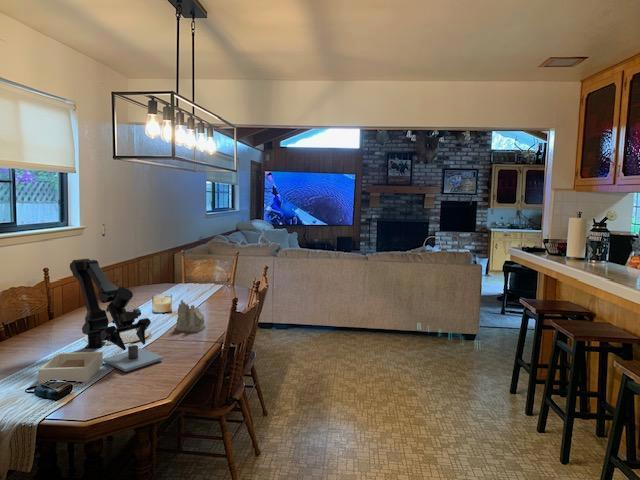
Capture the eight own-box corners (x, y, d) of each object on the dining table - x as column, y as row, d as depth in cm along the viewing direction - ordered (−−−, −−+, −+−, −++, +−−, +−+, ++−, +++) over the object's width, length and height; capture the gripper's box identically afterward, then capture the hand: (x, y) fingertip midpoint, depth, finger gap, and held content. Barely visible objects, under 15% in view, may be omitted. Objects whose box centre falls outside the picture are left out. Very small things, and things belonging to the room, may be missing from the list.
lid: (102, 363, 173) (102, 347, 172) (140, 352, 186) (140, 337, 185) (125, 373, 164) (124, 357, 163) (163, 361, 176) (163, 345, 176)
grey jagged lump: (196, 332, 212) (196, 301, 212) (168, 329, 218) (168, 299, 217) (215, 326, 227) (215, 297, 226) (188, 323, 232) (188, 295, 232)
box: (58, 365, 170) (58, 353, 169) (103, 364, 172) (102, 351, 172) (38, 383, 154) (38, 369, 153) (87, 381, 156) (87, 367, 156)
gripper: (103, 307, 167) (119, 342, 162) (147, 298, 182) (164, 330, 177) (93, 323, 173) (108, 357, 167) (137, 313, 187) (153, 344, 182)
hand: (135, 346), depth 173 cm, fingers open, 8 cm apart
